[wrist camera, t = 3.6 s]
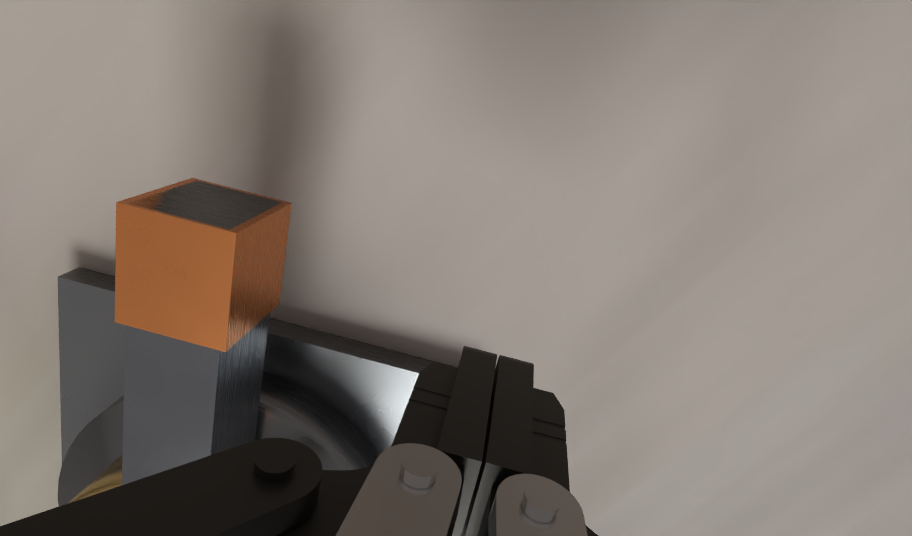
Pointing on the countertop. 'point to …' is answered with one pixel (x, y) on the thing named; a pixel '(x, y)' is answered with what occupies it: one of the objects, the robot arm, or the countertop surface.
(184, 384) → the rotary lever handle
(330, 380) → the housing
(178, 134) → the countertop surface
